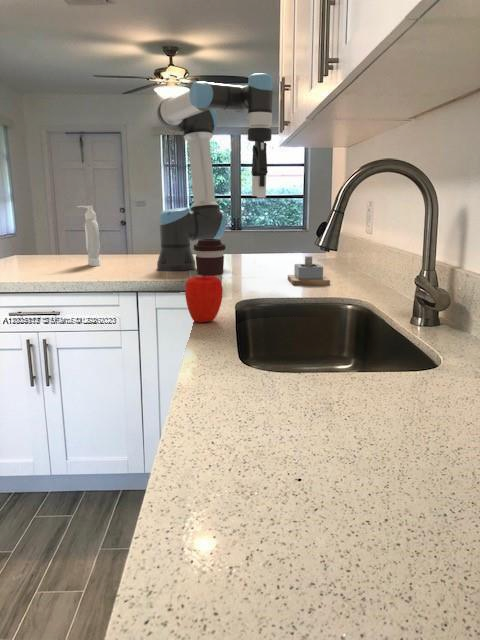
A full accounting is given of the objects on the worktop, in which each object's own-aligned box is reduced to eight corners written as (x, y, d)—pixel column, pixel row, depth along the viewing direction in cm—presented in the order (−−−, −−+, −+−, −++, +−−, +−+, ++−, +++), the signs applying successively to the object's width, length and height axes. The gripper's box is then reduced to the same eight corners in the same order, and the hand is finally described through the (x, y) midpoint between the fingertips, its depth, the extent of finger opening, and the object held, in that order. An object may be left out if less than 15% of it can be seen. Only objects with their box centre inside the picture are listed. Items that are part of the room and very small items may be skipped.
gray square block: (294, 275, 172) (294, 264, 171) (317, 275, 173) (317, 263, 172) (298, 279, 164) (298, 267, 163) (322, 279, 165) (323, 267, 164)
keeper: (287, 279, 174) (287, 254, 172) (321, 278, 175) (322, 254, 173) (293, 285, 163) (293, 259, 161) (329, 284, 163) (330, 258, 161)
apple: (214, 327, 113) (213, 279, 110) (179, 324, 116) (177, 277, 113) (228, 318, 121) (228, 273, 118) (195, 315, 124) (194, 271, 121)
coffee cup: (221, 290, 155) (221, 241, 152) (191, 289, 157) (189, 240, 154) (229, 284, 165) (228, 238, 161) (199, 283, 167) (198, 238, 163)
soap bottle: (80, 263, 217) (75, 205, 211) (99, 262, 220) (94, 205, 214) (83, 267, 206) (78, 206, 200) (102, 266, 208) (98, 205, 202)
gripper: (244, 131, 171) (243, 195, 177) (252, 123, 148) (251, 198, 153) (265, 131, 172) (264, 195, 178) (277, 124, 148) (276, 198, 154)
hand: (258, 196), depth 166 cm, fingers open, 13 cm apart
